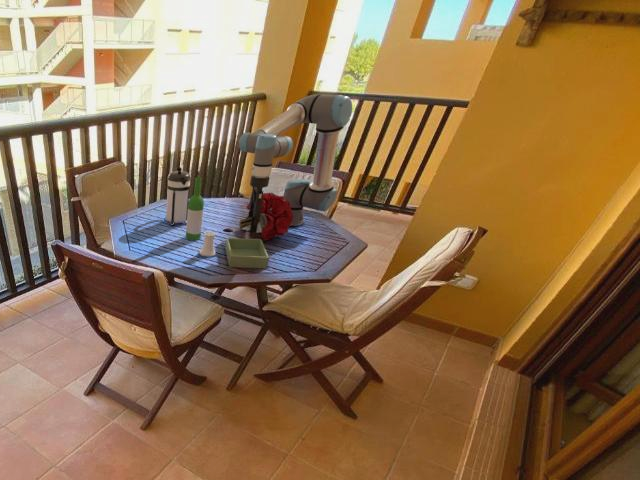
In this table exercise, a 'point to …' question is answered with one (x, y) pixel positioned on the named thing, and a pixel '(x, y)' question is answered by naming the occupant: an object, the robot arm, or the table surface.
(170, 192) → the coffee press
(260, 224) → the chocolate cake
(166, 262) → the table surface
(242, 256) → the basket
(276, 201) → the bouquet
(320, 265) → the table surface
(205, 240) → the salt shaker
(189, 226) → the wine bottle
